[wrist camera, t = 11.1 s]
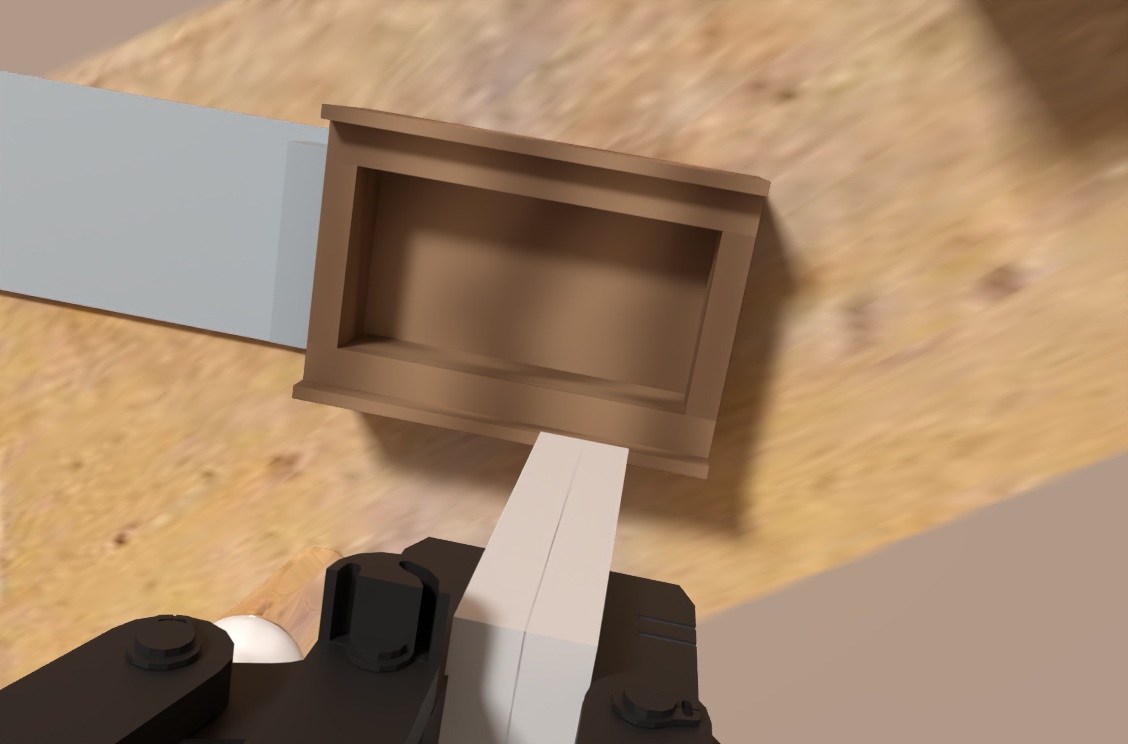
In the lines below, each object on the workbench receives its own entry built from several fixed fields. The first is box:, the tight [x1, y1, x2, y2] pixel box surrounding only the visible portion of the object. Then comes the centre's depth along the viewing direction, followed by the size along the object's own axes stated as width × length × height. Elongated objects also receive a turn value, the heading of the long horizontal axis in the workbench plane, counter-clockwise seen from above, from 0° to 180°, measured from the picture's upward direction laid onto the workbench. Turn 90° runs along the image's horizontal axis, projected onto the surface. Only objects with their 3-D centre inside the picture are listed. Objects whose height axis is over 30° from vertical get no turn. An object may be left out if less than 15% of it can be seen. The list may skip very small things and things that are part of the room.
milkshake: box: [213, 547, 343, 663], centre depth 40 cm, size 5×5×10 cm
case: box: [292, 104, 771, 479], centre depth 38 cm, size 16×11×5 cm
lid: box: [0, 70, 329, 349], centre depth 40 cm, size 16×9×3 cm, turn 81°
